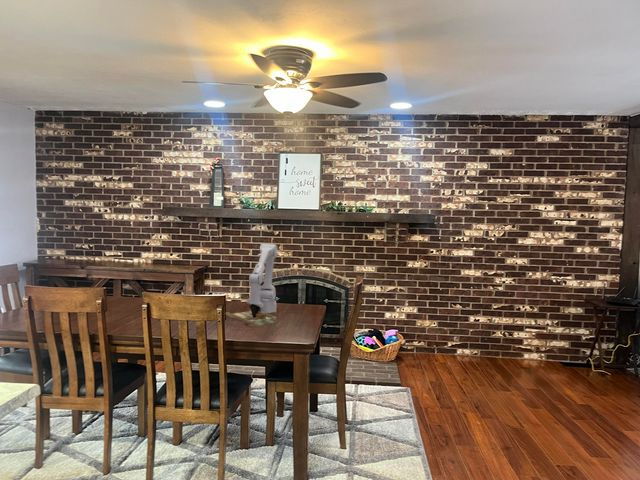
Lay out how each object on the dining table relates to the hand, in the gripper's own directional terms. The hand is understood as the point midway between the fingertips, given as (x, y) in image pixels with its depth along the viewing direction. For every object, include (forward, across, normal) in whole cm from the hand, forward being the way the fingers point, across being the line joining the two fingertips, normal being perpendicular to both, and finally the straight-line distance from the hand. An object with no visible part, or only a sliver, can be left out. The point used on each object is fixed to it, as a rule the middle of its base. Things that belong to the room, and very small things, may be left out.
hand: (254, 317), depth 258 cm
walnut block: (+1, +6, 0) cm, 6 cm away
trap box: (+2, -4, 0) cm, 5 cm away
